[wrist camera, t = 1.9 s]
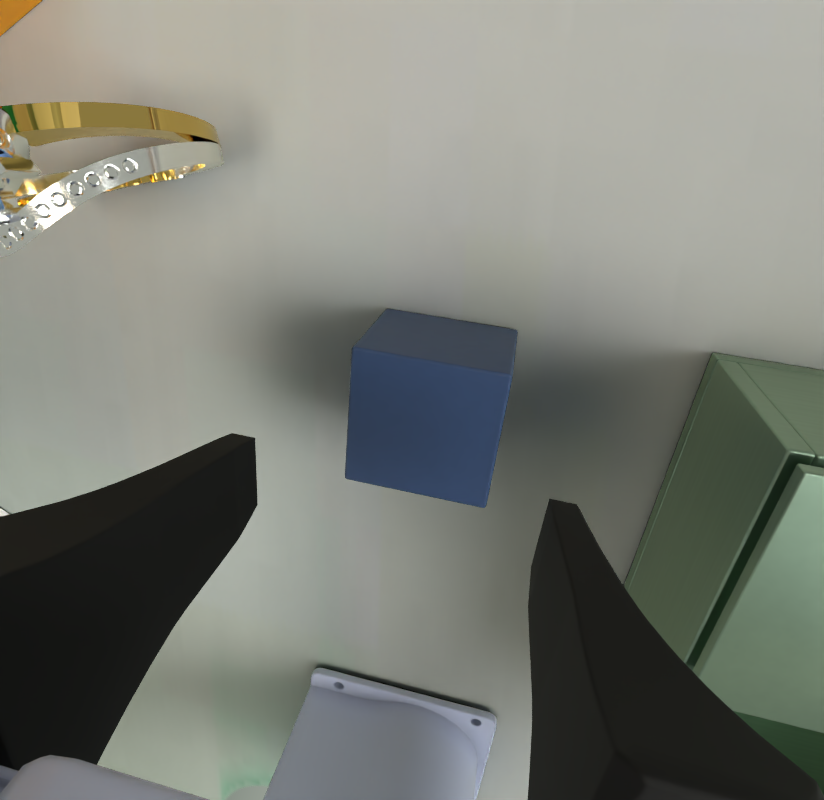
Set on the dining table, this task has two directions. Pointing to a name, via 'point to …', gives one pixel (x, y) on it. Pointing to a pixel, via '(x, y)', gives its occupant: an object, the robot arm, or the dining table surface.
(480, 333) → the navy cube
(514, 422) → the dining table surface
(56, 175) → the gold ring
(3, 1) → the orange juice
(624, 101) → the dining table surface
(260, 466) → the dining table surface
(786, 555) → the washer
